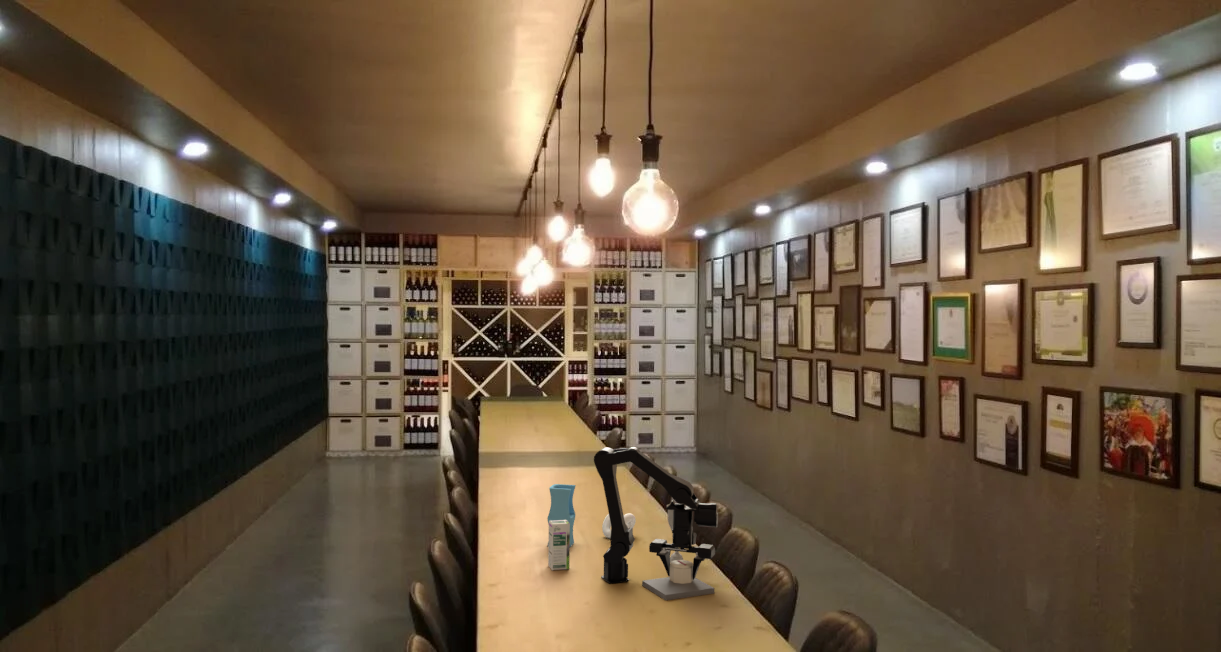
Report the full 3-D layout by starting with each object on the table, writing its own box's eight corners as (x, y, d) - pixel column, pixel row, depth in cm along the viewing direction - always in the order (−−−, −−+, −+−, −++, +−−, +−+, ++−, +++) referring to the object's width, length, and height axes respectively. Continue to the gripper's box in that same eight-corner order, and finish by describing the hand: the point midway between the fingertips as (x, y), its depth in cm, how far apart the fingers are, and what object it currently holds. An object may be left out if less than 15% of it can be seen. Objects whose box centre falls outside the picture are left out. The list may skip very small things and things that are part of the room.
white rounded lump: (595, 539, 297) (595, 514, 297) (610, 531, 307) (611, 507, 307) (623, 543, 291) (623, 518, 291) (638, 536, 302) (638, 511, 302)
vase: (569, 548, 284) (570, 489, 284) (547, 546, 286) (548, 488, 286) (574, 542, 292) (575, 485, 292) (553, 540, 294) (554, 483, 294)
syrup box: (551, 570, 258) (552, 524, 258) (547, 565, 264) (548, 519, 264) (569, 569, 260) (570, 523, 260) (565, 564, 265) (566, 518, 265)
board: (665, 600, 232) (665, 582, 232) (642, 585, 245) (642, 568, 245) (714, 593, 239) (714, 575, 239) (689, 579, 252) (689, 562, 252)
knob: (696, 582, 244) (697, 564, 244) (676, 584, 242) (677, 566, 242) (685, 575, 250) (686, 558, 250) (666, 578, 248) (666, 560, 248)
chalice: (669, 564, 266) (670, 508, 266) (662, 558, 273) (663, 504, 273) (690, 563, 268) (691, 507, 268) (683, 557, 275) (684, 503, 275)
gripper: (719, 522, 250) (718, 573, 251) (659, 516, 257) (659, 566, 257) (711, 530, 240) (710, 584, 240) (649, 524, 246) (648, 576, 246)
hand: (681, 577), depth 246 cm, fingers open, 7 cm apart
